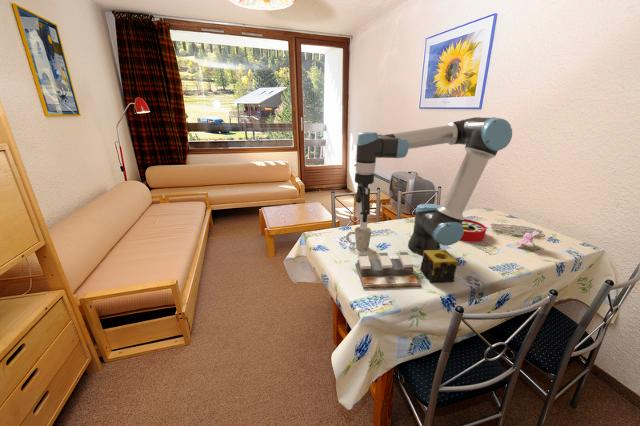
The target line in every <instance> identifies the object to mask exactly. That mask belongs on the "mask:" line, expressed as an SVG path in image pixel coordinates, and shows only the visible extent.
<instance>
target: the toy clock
mask: <svg viewBox="0 0 640 426" xmlns="http://www.w3.org/2000/svg"><path fill="white" fill-rule="evenodd" d="M461 225H462V227H463V230H464V233H463V236H462V238H461V239H460V240H459V241H460V242H461V241H462V242H466V243H467V242H468V243H477V242H481V241H483V240H484V239H485V237H486V232H487V231H486V230H487V226H486V225H484V224H483V223H481V222H478V221H476V220H472V219H467V218H464V220H463V222H462V224H461Z"/></svg>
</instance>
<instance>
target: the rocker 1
mask: <svg viewBox="0 0 640 426" xmlns="http://www.w3.org/2000/svg"><path fill="white" fill-rule="evenodd" d="M369 258H370V257H369V256H368V253H367V252H366V253H365V252H363V253H361V252H360V253H357V260H359V263H360V267H361V269H371V264H370V261H369V260H370V259H369Z"/></svg>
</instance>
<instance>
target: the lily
mask: <svg viewBox="0 0 640 426" xmlns="http://www.w3.org/2000/svg"><path fill="white" fill-rule="evenodd" d="M539 232H540V231H539ZM539 232H538V230H537V229H536V230H535V231H532V233H530V232H525V234H523V237H522V239H521V240H520V241H519V242H518V244H517V246H516V248H519V247H521V246H522V245H523V244H530V243H532V245H533V246H534V248H535V250H536V249H537V248H536V245H535V244H534V242H533V239H534V237H535V236H536V235H538V234H539Z"/></svg>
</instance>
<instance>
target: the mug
mask: <svg viewBox="0 0 640 426" xmlns="http://www.w3.org/2000/svg"><path fill="white" fill-rule="evenodd" d="M372 231H373V230H372V228H370V227H368V226H367V229H360V226H358V227H356V228H355V229H354V231H349V232H348V233H347V234H346V236H345V239H346V241H347V242H348V243H349V244H351V245H355V246H356V249H357V250H359V251H363V252H364V251H367V250H368V249H369V246H370V242H371V241H370V240H371V238H372V237H371V236H372ZM350 235H354V237H355V241H354V242H353V241H351V240H350V238H349V237H350Z"/></svg>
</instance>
